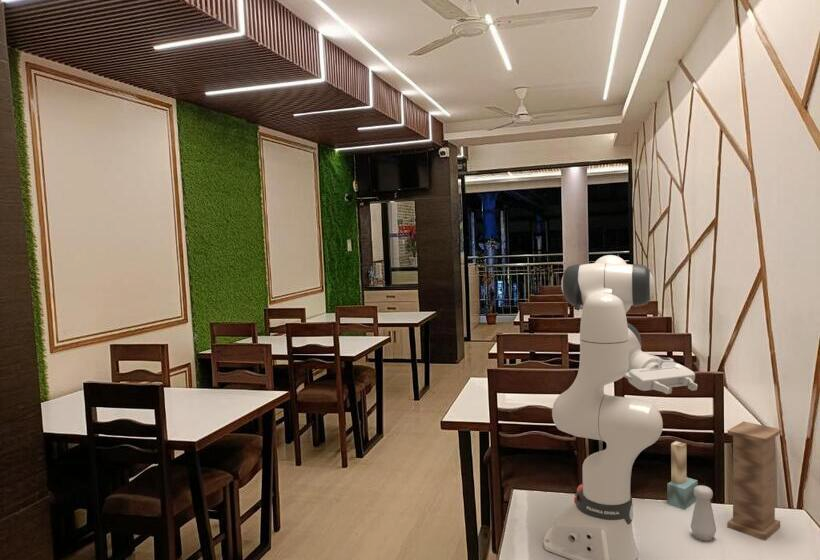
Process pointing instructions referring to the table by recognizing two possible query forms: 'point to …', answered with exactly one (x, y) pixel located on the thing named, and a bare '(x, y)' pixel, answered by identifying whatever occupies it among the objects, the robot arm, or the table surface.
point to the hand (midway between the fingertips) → (682, 389)
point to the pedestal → (754, 480)
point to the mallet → (680, 479)
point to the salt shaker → (703, 514)
